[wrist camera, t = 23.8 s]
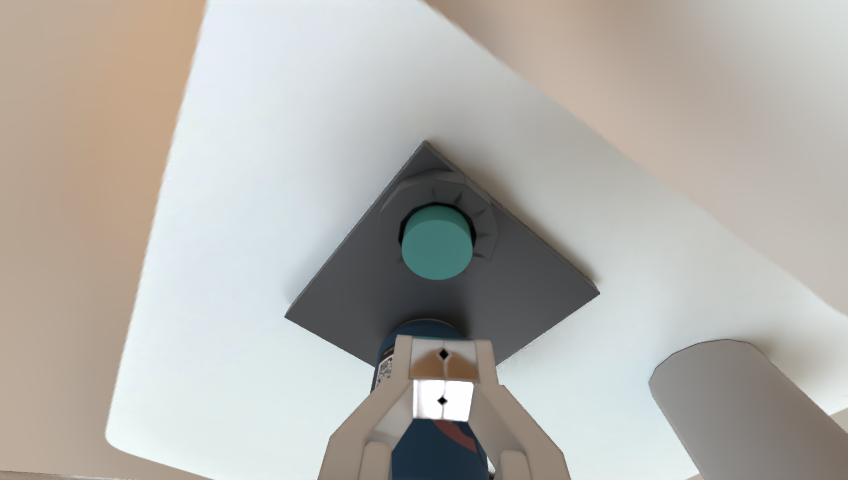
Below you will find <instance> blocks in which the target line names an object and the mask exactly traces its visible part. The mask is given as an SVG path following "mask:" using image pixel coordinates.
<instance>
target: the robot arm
mask: <svg viewBox="0 0 848 480" xmlns="http://www.w3.org/2000/svg"><path fill="white" fill-rule="evenodd" d="M413 418H415V419H442V420H453V421H464V422H468V424H469V426H470V428H471V429H472V431H473V433H474V434H475V436H476V438H477V439H478V441H479V443H480V444H481V446H482V448H483V450H484V451H485V453H486V455H487V456H488V458H489V460H490V461H491V463H492V465H493V466H494V468H495V470H496V471H495V475H494V478H493V480H571V478H570V474H569V471H568V468H567V465H566V461H565V458H564V455H563V452H562V451H561V450H560V449H559V448H558V446H557V445H556V444H555V443H554V442H553V441H552V440H551V438H550V437H549V436H548V435H547V434H546V433H545V432H544V430H543V429H542V428H541V427H540V426H539V425H538V424H537V423H536V421H535V420H534V419H533V418H532V417H531V416H530V415H529V413H528V412H527V411H526V410H525V409H524V408H523V407H522V405H521V404H520V403H519V402H518V401H517V400H516V399H515V397H514V396H513V395H512V394H511V393H510V392H509V391H508V389H507V388H506V387H505V386H504V385H499V382H498V377H497V371H496V366H495V360H494V354H493V349H492V343H491V341H490V340H481V339H462V338H437V337H425V336H410V335H397V337H396V342H395V348H394V354H393V361H392V367H391V373H390V378H385V379H384V380H383V381H382V382H381V383H380V384H379V385H378V386H377V387H376V388H375V389H374V390H373V391H372V392H371V394H370V395H369V396H368V397H367V398H366V399H365V400H364V401H363V402H362V403H361V404H360V405H359V406H358V407H357V408H356V410H355V411H354V412H353V413H352V414H351V415H350V416H349V417H348V418H347V419H346V420H345V421H344V422H343V423H342V425H341V426H340V427H339V428H338V429H337V430H336V431H335V432H334V433H333V434H332V435H331V436H330V438H329V442H328V445H327V449H326V452H325V456H324V459H323V462H322V466H321V469H320V473H319V476H318V479H317V480H392V455H391V453H392V451H393V450H394V448H395V446H396V445H397V443H398V442H399V440H400V439H401V437H402V436H403V434H404V433H405V431H406V430H407V428H408V427H409V425H410V424H411V422H412V421H413ZM0 480H128V479H114V478H100V477H84V476H71V475H56V474H42V473H28V472H12V471H0Z"/></svg>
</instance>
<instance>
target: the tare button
mask: <svg viewBox="0 0 848 480" xmlns="http://www.w3.org/2000/svg"><path fill="white" fill-rule="evenodd" d="M472 253H473V247H472V240H471V234H470V229H469V225H468V223H467V221H466V220H465V218H464V217H463V216H462V215H461V214H460V213H459V212H457V211H456V210H454V209H452V208H449V207H446V206H440V205H434V206H428V207H425V208H423V209H421V210H419V211H417V212H416V213H414V214H413V215H412V216H411V218H410V219H409V221H408V222H407V225H406V228H405V232H404V237H403V242H402V256H403V259H404V261H405V263H406V265H407V266H408V267H409V268H410V269H411V270H412V271H413V272H414V273H416V274H417V275H419V276H421V277H424V278H427V279H432V280H443V279H448V278H451V277H453V276H456V275H457V274H459V273H460V272H462V271H463V270H464V269H465V268H466V267H467V265H468V264H469V262H470V260H471V257H472Z"/></svg>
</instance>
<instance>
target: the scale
mask: <svg viewBox="0 0 848 480" xmlns="http://www.w3.org/2000/svg"><path fill="white" fill-rule="evenodd" d="M434 205H440V206H446V207H449V208H452V209H454V210H456V211H457V212H459V213H460V214H461V215H462V216H463V217H464V218H465V220H466V221H467V223H468V225H469V229H470V234H471V240H472V247H473V253H472V257H471V260H470V262H469V264H468V265H467V267H466V268H465V269H464V270H463V271H462V272H460V273H459V274H457V275H456V276H453V277H451V278H448V279H443V280H432V279H427V278H424V277H421V276H419V275H417V274H416V273H414V272H413V271H412V270H411V269H410V268H409V267H408V266H407V265H406V263H405V261H404V259H403V256H402V242H403V237H404V232H405V228H406V225H407V222H408V221H409V219H410V218H411V216H412V215H413V214H414V213H416V212H417V211H419V210H421V209H423V208H425V207H428V206H434ZM599 294H600V292H599V291H598V289H597V288H596V286H595V285H594V283H593V282H592V281H591V280H589V279H588V278H587V277H586V276H585V275H583V274H582V273H581V272H580V271H579V270H578V269H576V268H575V267H574V266H573V265H572V264H570V263H569V262H568V261H567V260H566V259H565V258H563V257H562V256H561V255H560V254H559V253H557V252H556V251H555V250H554V249H553V248H552V247H550V246H549V245H548V244H547V243H546V242H544V241H543V240H542V239H541V238H540V237H538V236H537V235H536V234H535V233H534V232H533V231H531V230H530V229H529V228H528V227H527V226H525V225H524V224H523V223H522V222H521V221H520V220H518V219H517V218H516V217H515V216H514V215H512V214H511V213H510V212H509V211H508V210H506V209H505V208H504V207H503V206H502V205H501V204H499V203H498V202H497V201H496V200H495V199H493V198H492V197H491V196H490V195H489V194H488V193H486V192H485V191H484V190H483V189H482V188H481V187H479V186H478V185H477V184H476V183H475V182H473V181H472V180H471V179H470V178H469V177H468V176H466V175H465V174H464V173H463V172H461V171H460V170H459V169H458V168H457V167H456V166H454V165H453V164H452V163H451V162H450V161H448V160H447V159H446V158H445V157H444V156H443V155H441V154H440V153H439V152H438V151H437V150H435V149H434V148H433V147H432V146H431V145H429V144H428V143H427V142H426V141H423V143H422V144H421V145H420V146H419V148H418V149H417V150H416V151H415V153H414V154H413V155H412V156H411V158H410V159H409V160H408V161H407V162H406V164H405V165H404V166H403V167H402V169H401V170H400V171H399V172H398V174H397V175H396V176H395V177H394V179H393V180H392V181H391V182H390V183H389V185H388V186H387V187H386V188H385V190H384V191H383V192H382V193H381V195H380V196H379V197H378V198H377V200H376V201H375V202H374V203H373V205H372V206H371V207H370V208H369V209H368V211H367V212H366V213H365V214H364V216H363V217H362V218H361V219H360V221H359V222H358V223H357V224H356V226H355V227H354V228H353V229H352V231H351V232H350V233H349V234H348V235H347V237H346V238H345V239H344V240H343V242H342V243H341V244H340V245H339V247H338V248H337V249H336V250H335V252H334V253H333V254H332V255H331V257H330V258H329V259H328V260H327V261H326V263H325V264H324V265H323V266H322V268H321V269H320V270H319V271H318V273H317V274H316V275H315V276H314V278H313V279H312V280H311V281H310V283H309V284H308V285H307V286H306V287H305V289H304V290H303V291H302V292H301V294H300V295H299V296H298V297H297V299H296V300H295V301H294V302H293V304H292V305H291V306H290V308H289V309H288V311H287V313H286V314H285V316H284V317H285V318H287V319H288V320H290V321H292V322H294V323H296V324H297V325H299V326H301V327H303V328H305V329H307V330H308V331H310V332H312V333H314V334H316V335H317V336H319V337H321V338H323V339H325V340H326V341H328V342H330V343H332V344H334V345H335V346H337V347H339V348H341V349H343V350H345V351H346V352H348V353H350V354H352V355H354V356H355V357H357V358H359V359H361V360H363V361H364V362H366V363H368V364H370V365H372V366H373V367H376V362H377V357H378V352H379V349H380V346H381V344H382V343H383V341H384V340H385V339H386V338H387V337H388V336H389V335H390V334H391V333H392V332H393V331H395V330H396V329H397V328H398V327H400V326H401V325H402V324H404V323H406V322H409V321H412V320H416V319H436V320H440V321H443V322H445V323H448V324H450V325H451V326H453V327H454V328H455V329H456V330H457V331H459V332H460V333H461V334H462V335H463V336H464V337H465V338H466V339H481V340H490V341H491V343H492V349H493V354H494V360H495V366H497V365H498V364H500V363H501V362H502V361H504V360H505V359H507V358H508V357H510V356H511V355H513V354H514V353H515V352H517V351H518V350H520V349H521V348H523V347H524V346H526V345H527V344H528V343H530V342H531V341H533V340H534V339H536V338H537V337H539V336H540V335H542V334H543V333H544V332H546V331H547V330H549V329H550V328H552V327H553V326H555V325H556V324H557V323H559V322H560V321H562V320H563V319H565V318H566V317H568V316H569V315H570V314H572V313H573V312H575V311H576V310H578V309H579V308H581V307H582V306H583V305H585V304H586V303H588V302H589V301H591V300H592V299H594V298H595V297H596V296H598V295H599Z"/></svg>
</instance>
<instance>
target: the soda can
mask: <svg viewBox="0 0 848 480" xmlns="http://www.w3.org/2000/svg"><path fill="white" fill-rule="evenodd" d="M397 335H410V336H425V337H437V338H462V339H466V338H465V337H464V336H463V335H462V334H461V333H460V332H459V331H457V330H456V329H455V328H454V327H453V326H451V325H450V324H448V323H445V322H443V321H440V320H436V319H416V320H412V321H409V322H406V323H404V324H402V325H401V326H400V327H398V328H397V329H396V330H395V331H393V332H392V333H391V334H390V335H389V336H388V337H387V338H386V339H385V340H384V341H383V343H382V344H381V346H380V349H379V352H378V357H377V362H376V367H375V372H374V377H373V382H372V387H371V392H372V391H373V390H374V389H375V388H376V387H377V386H378V385H379V384H380V383H381V382H382V381H383V380H384V379H385V378H390V373H391V367H392V361H393V354H394V348H395V342H396V337H397ZM371 392H370V394H371ZM391 455H392V480H489V472H488V463H487V455H486V453H485V451H484V450H483V448H482V446H481V444H480V443H479V441H478V439H477V438H476V436H475V434H474V433H473V431H472V429H471V428H470V426H469V424H468V422H464V421H453V420H442V419H415V418H413V421H412V422H411V424H410V425H409V427H408V428H407V430H406V431H405V433H404V434H403V436H402V437H401V439H400V440H399V442H398V443H397V445H396V446H395V448H394V450H393V451H392V453H391Z"/></svg>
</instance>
